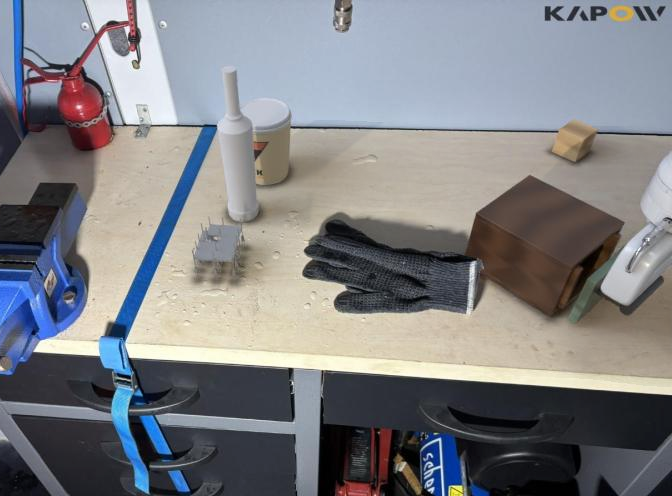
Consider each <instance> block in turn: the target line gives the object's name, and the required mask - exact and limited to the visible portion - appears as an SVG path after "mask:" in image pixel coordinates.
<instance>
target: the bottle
mask: <svg viewBox="0 0 672 496" xmlns="http://www.w3.org/2000/svg"><path fill="white" fill-rule="evenodd" d="M220 71H221V78H222V79H221V80H222V84H223V93H224V101H225V113H224V116H223V117H222V118H221V119H220V120H219V121H218V123H217V124H216V128H217V134H218V141H219V147H220V154H221V160H222V167H223V174H224V180H225V187H226V193H227V194H226V195H227V200H228V202H227V211H228V214H229V217H230V218H231V219H232V220H233V221H236V222H239V223H245V222H246V223H247V222H250V221H252V220H254V219H255V218H257V216H258V215H259V210H260V203H259V200H258V199H257V184H256V179H255V162H254V144H253V127H252V121H251V120H250V119H249V118H247V117H246V116H244V115H243V113H242V112H241V111H240V106H241V104H240V97H239V86H238V85H239V84H238V71H237V67H236V66H234V65H225V66H223V67H222V68H221V69H220ZM240 218H241V221H240Z"/></svg>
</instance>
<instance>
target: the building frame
mask: <svg viewBox="0 0 672 496" xmlns="http://www.w3.org/2000/svg"><path fill="white" fill-rule="evenodd" d="M240 221H241V218H240ZM221 222H222V224H213V223H212V224H211V220H210V217H208V223H209V224H208V225H209V226H208V228H207V226H205V227H204V229H205V230H204V229H203V222H200V226H201V233H200V234H199V233H197V237H198V243H197V241H196V240H194V245H195V252H194V249H191V252H192V253H191V254H192V259H193V264H194V274H196V279H197V281H199V279H200V278H199V271H203V267H202V262H203V261H207V264H209V262H210V261H211V262H213V265H214V267H213V275H214V278H215V280H217V281H219V280H220V279H219V271H220V272H222V268H221V267H219V266H221V265H222V264H223V262H224V263H231V265H232V274H231V276H232V278H233V281H235V283H237V280H238V279H235V278H237V272H238V273H240V270H239V268H237V267H239V266H241V265H242V261H241V259H243V256H242V255H243V248H244V249H246V243H245V241H246V239H245V236H244V235H243V233H244V232H243V225H242V223H243V222H240V225H228V224H225V223H224V222H225V221H224V216H222V217H221ZM216 238H217V239H216ZM240 238H241V240H240ZM234 259H235V260H234ZM197 265H198V266H197ZM216 266H217V267H216ZM236 269H237V270H236Z"/></svg>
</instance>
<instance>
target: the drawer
mask: <svg viewBox="0 0 672 496" xmlns="http://www.w3.org/2000/svg"><path fill="white" fill-rule="evenodd" d="M621 238H622V234H620V233H619V234H618V233H617V232H616V233H615V234H614V235H612V236H611V237H610V238H609V239H608V240H607V241H605V242H604V243H603V244H602V245H601V246H600V247H598V248H597V249H596V250H595V251H594V252H593V253H592V254H590V255H589V256H588V257H587V258H586V259H585V260H583V261H582V262H581V263H580V264H579V265H578V266H576V267H575V268H574V270H573V272H572V274H571V276H570V279H569V281H568V283H567V285H566V287H565V289H564V292H563V294H562V296H561V298H560V300H559V303H558V305H557V306H558V307H560V309H561V310H563V309H564V308H566V307H567V306H568V305H569V304H570V303H571V302H573V300H574V299H576V298H577V299H576V301H575V303H574V305H573V307H572V309H571V311H570V314H569V316H568V317H567V319H568V320H569V321H570V322H572V323H574V324H578V322H580V321H581V320H582V319H583V318H584V317H585V316H586V315H588V313H589V312H590V311H592V309H593V308H595V306H597V305H598V304H599V303H600V302H601V301H602V300H603V299H605V300H606V301H608V302H610V303H611V304H613V305H615V306H616V307H618V310H619V312H620V313H621V314H622V315H624V316H631V315H632V314H633V313H635V311H636V310H637V309H638V308H639V307H640V306H641V305H642V304H644V303H645V301H646V300H648V298H650V297H651V296H652V294H653V293H655V292H656V290H658V288H660V287H661V286H662V285H663V284H664V282H665V279H664V276H663V275H662V274H661V275H660V276H659V277H658V278H657V279H656V280H655V281H654V282H653V283H652V284H651V285H650V286H649V287H648V288H647V289H646V290H645V291H644V292H643V293H642V294H641V295H640V296H639V297H637V298H636V299H635V300H634V301H633V302H632V303H631V304H630V305H628V306H625V305H622V304H620V303H619V302H617V301H615V300H613V299H611V298H610V297H608V296H607V295H605V294H604V293H602V291H601V284H602V282H603V281H604V279H605V277H606V275H607V274H608V272H609V270H610V269H611V267H612V265H613V264H614V262H615V260H616V259H617V257H618V255H619V254H620V252H621V251H622V250H623V248H624V247H625V246H626V244H625V245H623V246H622V247H621V248H620V249H619V250H618V251H616V252H615V249H616V248H617V245H618V244H619V242H620V240H621ZM614 252H615V253H614ZM613 253H614V254H613Z"/></svg>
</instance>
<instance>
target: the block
mask: <svg viewBox="0 0 672 496" xmlns="http://www.w3.org/2000/svg"><path fill="white" fill-rule="evenodd" d="M598 131H599V129H598V128H596V127H593V126H591V125H589V124H588V123H587V124H586V123H584V122H582V121H580V120H578V119H577V120H576V119H572V120H571V121H569V122H567V123H566V124H565V125H563V126H562V127H560V128H559V129H558V132H557V135H556V138H555V140H554V144H553V146H552V149H551V153H553V154H555V155H558V156H560V157H562V158H564V159H566V160H569V161H570V162H573V163H576V162H578V161H579V160H580V159H582V158H583V157H585V156H586V155H588V153H590V151H591V149H592V146H593V143H594V141H595V138H596V137H597V134H598Z"/></svg>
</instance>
